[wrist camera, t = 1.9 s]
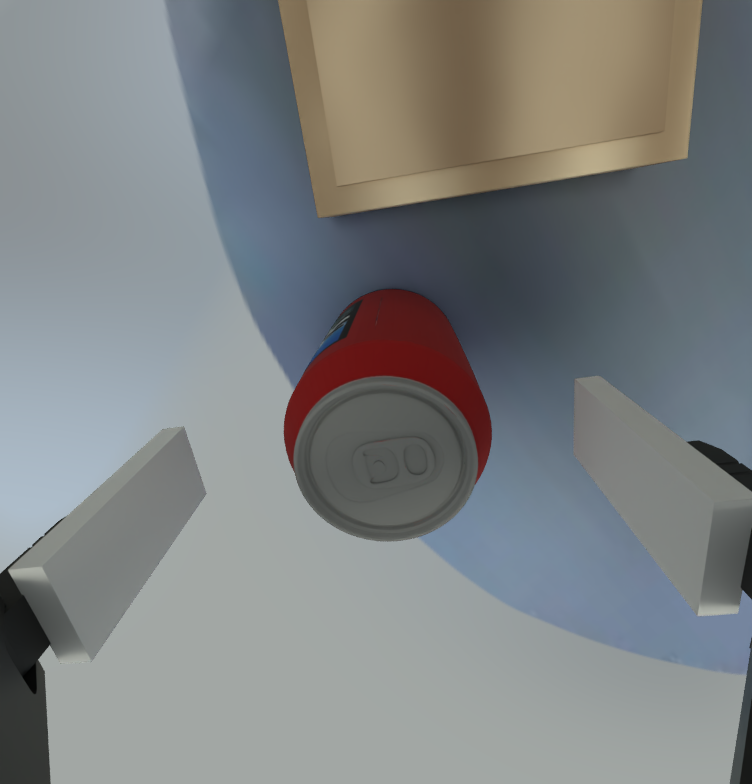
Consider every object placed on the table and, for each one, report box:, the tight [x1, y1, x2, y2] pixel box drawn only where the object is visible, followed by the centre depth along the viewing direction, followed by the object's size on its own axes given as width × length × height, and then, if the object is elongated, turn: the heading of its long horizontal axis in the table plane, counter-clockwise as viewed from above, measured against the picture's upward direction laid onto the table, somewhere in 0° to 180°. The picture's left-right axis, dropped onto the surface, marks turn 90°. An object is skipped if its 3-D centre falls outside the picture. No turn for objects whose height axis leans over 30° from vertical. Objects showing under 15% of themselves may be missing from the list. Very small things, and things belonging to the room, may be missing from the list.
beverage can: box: [284, 289, 492, 541], centre depth 18 cm, size 7×7×12 cm
